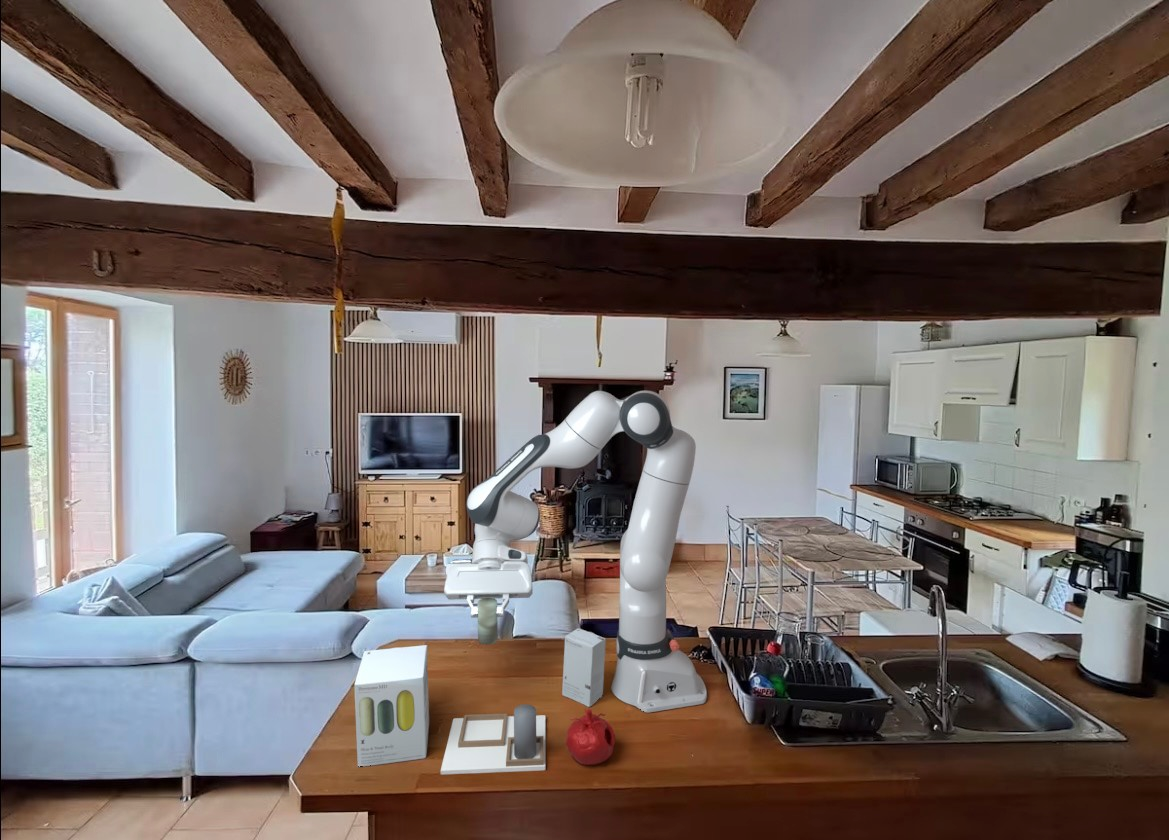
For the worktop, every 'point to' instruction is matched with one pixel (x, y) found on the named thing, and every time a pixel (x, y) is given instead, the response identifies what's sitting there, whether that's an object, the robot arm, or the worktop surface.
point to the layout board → (496, 743)
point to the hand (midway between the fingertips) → (487, 616)
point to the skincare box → (583, 667)
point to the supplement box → (392, 705)
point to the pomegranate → (590, 739)
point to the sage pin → (487, 621)
